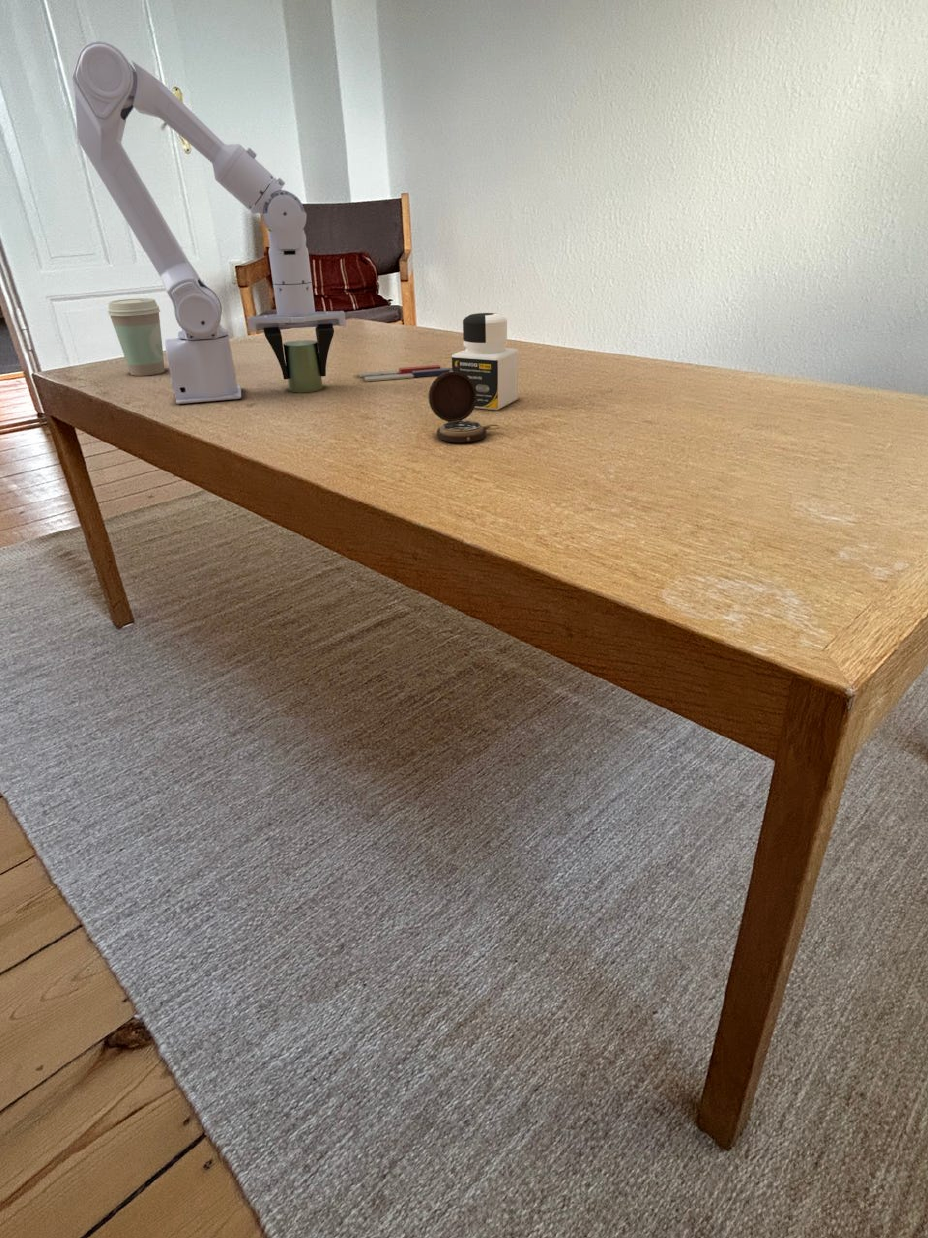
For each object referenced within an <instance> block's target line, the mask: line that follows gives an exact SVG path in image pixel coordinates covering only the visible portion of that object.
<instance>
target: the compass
mask: <svg viewBox="0 0 928 1238" xmlns="http://www.w3.org/2000/svg"><path fill="white" fill-rule="evenodd" d="M476 393H477V391H476V388H475V385H474V383H473V382H472V380H471V379H470V378H469V377H467V376H466V375H465V374H462V373H460V372H455V371H453V370H450V371H449V372H445V373H443V374H441V375H438V376H436V378H435V379H434V380H433V381H432V383H431V385H430V387H429V391H428V404H429V405H430V406H429V407H430V409H431V410H432V412H433V414H434V415H435V416H436V417H438V418H439V419H440V420H442V421H445V423H443V424H442V425H440V427H438V428H437V429H436V437H437V438H438V439H439V440H441V441H443V442H448V443H460V444H461V443H472V442H477V441H480V440H482V439H484V438H485V437H486V436H487V430H498V429H500V428H501V426H500V425H499V424H487V425H483V424H481V423H480V422H478V421H474V420H465V419H467V418H468V417H470V415H471V414H472V413H473V412H474V410H475V409H476V408H475V405H476V401H477V397H476Z"/></svg>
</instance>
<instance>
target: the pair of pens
mask: <svg viewBox="0 0 928 1238" xmlns="http://www.w3.org/2000/svg"><path fill="white" fill-rule="evenodd" d="M430 369H441V366H440V365H439V364H431V365H430V364H429V365H419V366H417V365H416V366H406V367H398V371H397V370H395V369H394V370H385V371H373V372H372V371H371V372H361V373H360V372H359V373H357V375H358V377H359V379H361V378H364V377H373V376H385V375H397V374H409V373H412V371H418V370H430ZM364 379H365V378H364Z"/></svg>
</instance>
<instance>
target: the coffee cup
mask: <svg viewBox="0 0 928 1238" xmlns="http://www.w3.org/2000/svg"><path fill="white" fill-rule="evenodd" d="M107 312H108V313H107V316H109V317H110V319H111V322H112V325H113V328H114V331H115V334H116V337H117V339H118V342H119V345H120V348H121V351H122V355H123V357H124V359H125V362H126V365H127V368H128V370H129V373H130V375H132V376H137V377H144V376H155V375H159V374H162V373H164V372H165V371H166V370H165V369H166V368H165V359H164V349H163V339H162V329H161V328H162V327H161V320H160V312H161V310H160V307H159V305H158V304H157V301H156V300H155V298H148V297H146V298H144V297H143V298H142V297H141V298H139V297H138V298H126V299H123V298H122V299H117V300H111V301H109V302H108V309H107Z"/></svg>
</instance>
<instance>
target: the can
mask: <svg viewBox="0 0 928 1238" xmlns="http://www.w3.org/2000/svg"><path fill="white" fill-rule="evenodd" d="M283 350H284V357H285V362H286V367H287V371H288V378H289V379H287V380H288V382H287V383H288V388H289V391H290V392H292V393H302V394H304V393H305V394H306V393H314V392H318V391H320V390H323V377H321V371H320V361H319V352H318V344H317V340H314V339H313V340H312V339H301V340H300V339H299V340H291V341H287V342H284V343H283Z"/></svg>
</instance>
